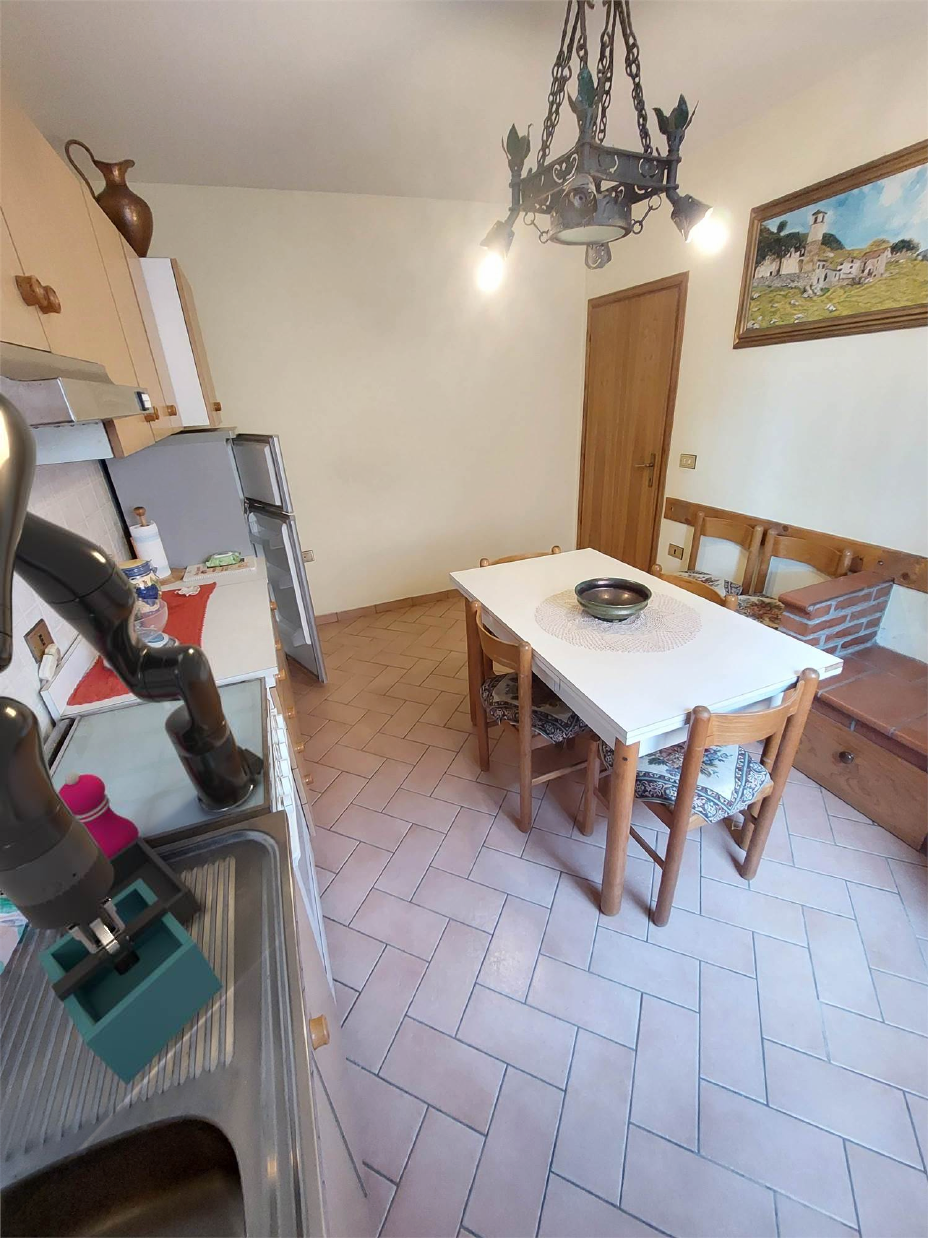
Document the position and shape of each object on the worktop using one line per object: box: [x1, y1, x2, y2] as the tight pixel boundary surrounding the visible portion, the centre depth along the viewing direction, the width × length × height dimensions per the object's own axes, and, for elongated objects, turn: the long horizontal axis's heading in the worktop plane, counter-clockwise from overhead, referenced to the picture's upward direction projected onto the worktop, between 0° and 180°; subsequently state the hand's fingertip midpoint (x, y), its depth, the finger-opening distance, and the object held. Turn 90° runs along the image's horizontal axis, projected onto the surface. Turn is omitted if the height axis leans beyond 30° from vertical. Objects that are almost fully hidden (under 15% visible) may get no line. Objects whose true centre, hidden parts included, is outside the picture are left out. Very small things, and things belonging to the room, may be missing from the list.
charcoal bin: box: [58, 836, 202, 937], centre depth 74 cm, size 14×17×6 cm
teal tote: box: [37, 879, 224, 1086], centre depth 59 cm, size 11×14×11 cm
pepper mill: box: [57, 772, 139, 859], centre depth 80 cm, size 7×7×20 cm
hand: (125, 960), depth 58 cm, fingers closed on teal tote
